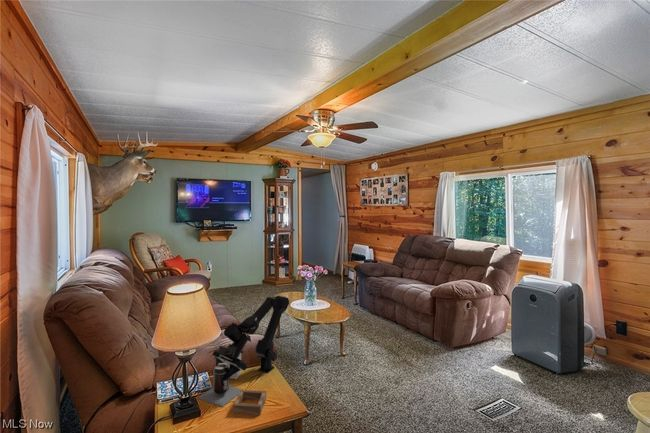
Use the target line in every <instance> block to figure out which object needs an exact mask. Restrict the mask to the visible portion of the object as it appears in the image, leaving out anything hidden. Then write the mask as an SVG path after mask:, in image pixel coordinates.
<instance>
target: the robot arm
mask: <svg viewBox="0 0 650 433" xmlns="http://www.w3.org/2000/svg"><path fill="white" fill-rule="evenodd" d="M289 306H290V299H289V297H287V296H282V295H280V294H279V295H276V296H267V297H266V298H265V301H263V303H262V304H261V305H260V306H259V307H258V308H257V310H256V311H255V312H254V313H253V314H252V315H250V316H249V317H246V318H245V319H244V320H243V321H242V322H241V323H239V324H237V323H235V322H232V323H231V324H229V325H228V326H227V327H226V328H224V331H223V335H224V336H225V337H226V338H227V339H228V340H230V341H231V342H232V344H231V343H230V344H228V346H226V345H219V346H218V349H216V350H214V351H213V352H212V354H211V355H212V356H213V357H214V359H215V366H216V365H217V364H219V363H224V362H223V361H225V360H226V361H228V362H231V363H233V364H230V367H229V370H228V372H227V373H226V375H225V377H224V381H226V380H227V379H228V378H229V379H230V377H231V376H232V375H234V374H235V373H237V372H238V371H241V372H242V371H244V372H245V371H246V370H247V368H248V364H247V363H246V362H244V361H243V360H242V359H241V360H240V359H238V357H239V355H240V353H241V354H243V353H244V350H243V349H244V348H245V346H246V345H247V343H248V342H251V341H252V339H251V335H255V333H256V331H257V330H258V329H259V327H260V323H261V321H262V320H263V319H264V318H265V317H266V315H267V314H268V313H269V312H270V310H271V309H272V314H271V317H270V319H269V322H268V325H267V327H266V330H265V333H264V336H263V337H262V339H258V341H257V344H256V345H255V353H256V355H257V356H256V357H257V358H260V366H259V368H258V369H257V370H258V371H260V372H264V373H267V372H268V373H270V372H271V371H272V370H273V369H275V368H276V366H275V365H273V361H274V360H275V359H276V358H277V353H276V352H275V351H274V341H273V340H274V337H275V335H276V331H277V328H278V327H279V323H280V320H281V317H282V315H283V313H285V312H286V311H287V310H288V307H289ZM231 359H232V360H231ZM274 366H275V367H274ZM240 369H241V370H240ZM212 376H214V373H213V375H212Z"/></svg>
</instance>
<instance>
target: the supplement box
mask: <svg viewBox="0 0 650 433" xmlns="http://www.w3.org/2000/svg"><path fill="white" fill-rule="evenodd" d="M238 359H240V360H242V353H240V355H239V357H238ZM231 360H232V359H231ZM223 362H224V363H226V364H228V367H230V364H233V363H231V362H228V361H226V360H225V361H223ZM240 370H241V371H238V372H237V373H235V374H234V375H232V376H231V377H230V378H229V380H230V379H233V380H237V379H238V377H239V376H240V374H241V373H242V369H240Z"/></svg>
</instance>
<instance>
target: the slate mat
mask: <svg viewBox="0 0 650 433" xmlns="http://www.w3.org/2000/svg"><path fill="white" fill-rule="evenodd" d="M241 390H243V389H241V388H238V387H236V386H235V387H234V386H232V385H229V390H228V391H227V392H226V393H224V394H217V393H215V392H214V386H213V387H212V388H210V389H208V390H207V391H205V393H203V394H202V395H200V396H199V397H197V399H198V400H201V401H203V402H206V403H209V404H212V405H216V406H218V407H220V408H224V407H225V406H226V405H227V404H229V403H230V402H231V401H232V400H233V399H235V398H237V397H238V395H239V393H240V391H241Z"/></svg>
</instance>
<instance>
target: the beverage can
mask: <svg viewBox="0 0 650 433" xmlns="http://www.w3.org/2000/svg"><path fill="white" fill-rule="evenodd" d="M228 370H229V367H228V364H226V363H219V364H217V365H216V364H215V366H214V368H213V374H214V375H213V387H214V392H215V393H217V394H224V393H226V392H227V391H228V390H229V386H230V378H228V379H227V380H226V381H224V377H225V375H226V373H227V372H228Z"/></svg>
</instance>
